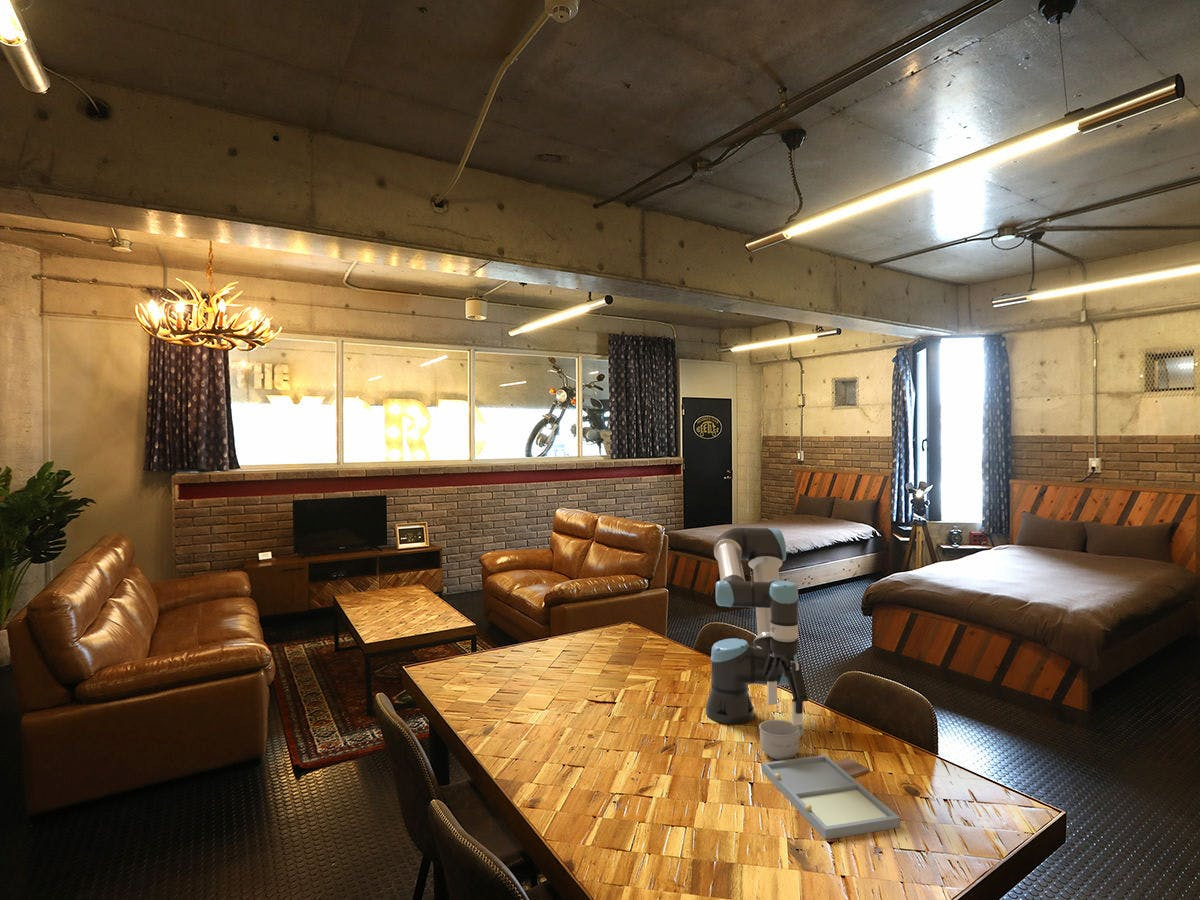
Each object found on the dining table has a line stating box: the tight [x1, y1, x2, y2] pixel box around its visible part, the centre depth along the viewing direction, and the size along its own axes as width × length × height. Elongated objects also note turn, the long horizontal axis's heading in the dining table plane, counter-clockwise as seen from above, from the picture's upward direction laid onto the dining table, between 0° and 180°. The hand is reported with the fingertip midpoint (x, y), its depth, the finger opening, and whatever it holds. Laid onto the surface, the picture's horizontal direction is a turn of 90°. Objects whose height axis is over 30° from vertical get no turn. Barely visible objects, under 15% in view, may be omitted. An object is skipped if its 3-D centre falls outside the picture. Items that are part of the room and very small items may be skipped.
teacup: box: [758, 719, 804, 761], centre depth 173 cm, size 14×11×8 cm
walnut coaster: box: [834, 756, 870, 778], centre depth 165 cm, size 7×7×1 cm
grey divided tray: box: [761, 754, 901, 840], centre depth 151 cm, size 29×19×3 cm, turn 13°
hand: (784, 713), depth 172 cm, fingers open, 13 cm apart
